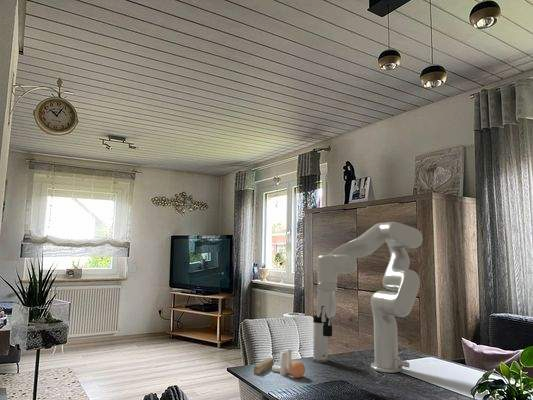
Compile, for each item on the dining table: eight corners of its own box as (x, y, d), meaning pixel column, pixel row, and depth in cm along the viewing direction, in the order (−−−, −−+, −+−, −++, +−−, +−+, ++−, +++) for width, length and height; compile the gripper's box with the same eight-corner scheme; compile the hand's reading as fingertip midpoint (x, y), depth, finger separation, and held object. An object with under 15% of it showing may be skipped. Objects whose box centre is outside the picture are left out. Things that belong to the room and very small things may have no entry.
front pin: (293, 367, 157) (274, 364, 161) (291, 369, 155) (271, 366, 159) (293, 373, 157) (274, 370, 160) (291, 375, 155) (271, 372, 158)
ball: (290, 368, 156) (305, 371, 155) (288, 379, 151) (303, 382, 150) (291, 356, 154) (306, 359, 153) (289, 367, 149) (305, 370, 148)
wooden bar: (273, 365, 167) (273, 358, 167) (258, 374, 154) (258, 366, 155) (269, 365, 168) (269, 357, 168) (253, 374, 155) (253, 366, 156)
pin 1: (287, 374, 155) (287, 352, 156) (284, 376, 153) (285, 353, 154) (281, 373, 156) (281, 351, 157) (279, 375, 154) (279, 352, 155)
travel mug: (327, 363, 172) (327, 315, 174) (312, 362, 173) (312, 315, 175) (328, 359, 178) (328, 313, 180) (313, 358, 179) (313, 313, 182)
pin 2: (292, 371, 160) (292, 349, 161) (290, 372, 157) (290, 350, 159) (287, 370, 161) (287, 348, 162) (284, 371, 159) (284, 349, 160)
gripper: (324, 285, 162) (324, 331, 159) (311, 288, 149) (311, 338, 146) (342, 286, 158) (342, 333, 156) (330, 289, 145) (331, 341, 143)
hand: (327, 335), depth 151 cm, fingers closed
